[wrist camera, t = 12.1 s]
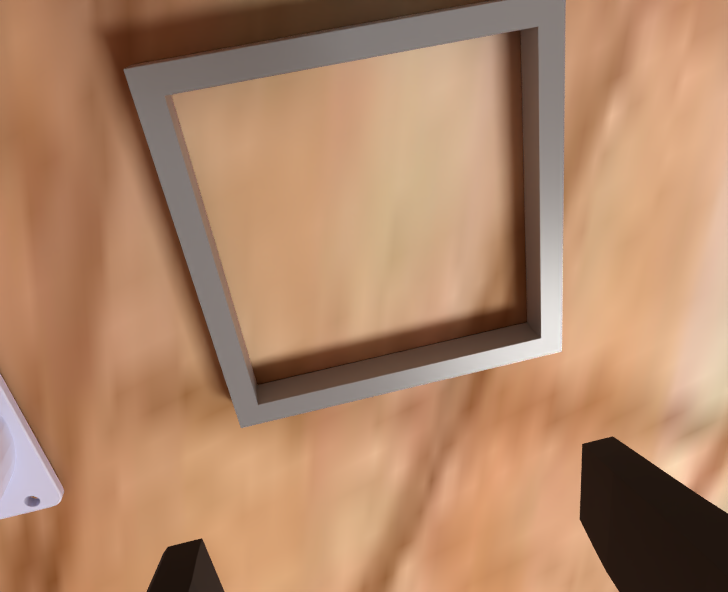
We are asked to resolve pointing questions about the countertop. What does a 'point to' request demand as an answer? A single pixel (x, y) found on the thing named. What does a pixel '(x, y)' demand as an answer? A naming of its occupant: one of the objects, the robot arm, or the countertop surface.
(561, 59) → the empty gray rectangular frame
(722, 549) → the robot arm
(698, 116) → the countertop surface
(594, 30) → the countertop surface
